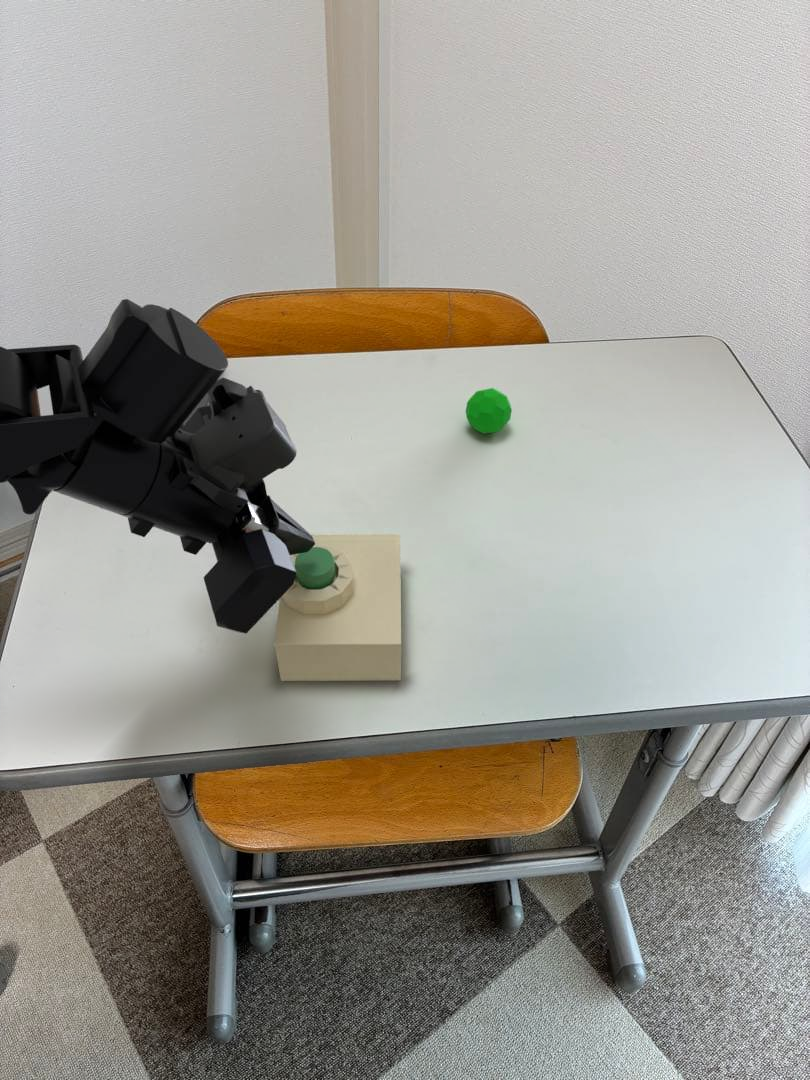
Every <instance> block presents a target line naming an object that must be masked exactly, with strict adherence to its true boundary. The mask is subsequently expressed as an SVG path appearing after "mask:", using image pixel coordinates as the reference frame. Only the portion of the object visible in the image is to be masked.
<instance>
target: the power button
mask: <svg viewBox="0 0 810 1080" xmlns="http://www.w3.org/2000/svg"><path fill="white" fill-rule="evenodd" d="M295 569H296V576H297V580H298V582H299V583H300V584H301V585H302V586H303V587H305V588H308V589H322V588H325V587H327V586H328V585H330V584H331V583H332V582H333V580H334V578H335V561H334V557H333V555H332V554H331V552H330V551H328V550H327V549H324V548H321V547H312V548H311V549H310V550H309V551H308V552H305V553H300V554H298V555H297V557H296V559H295Z"/></svg>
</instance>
